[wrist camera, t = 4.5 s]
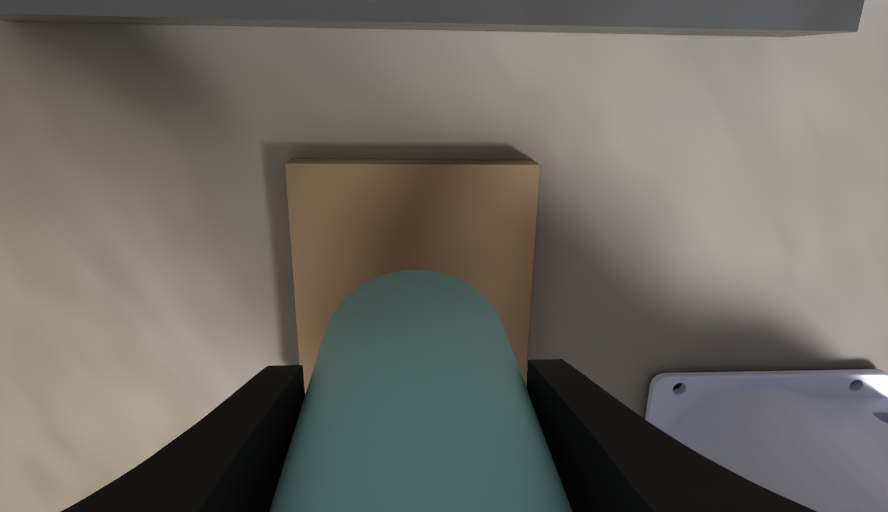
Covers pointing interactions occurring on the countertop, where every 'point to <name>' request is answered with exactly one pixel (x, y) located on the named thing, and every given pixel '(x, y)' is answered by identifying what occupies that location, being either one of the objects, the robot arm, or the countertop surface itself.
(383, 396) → the peg
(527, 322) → the brown square coaster
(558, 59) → the countertop surface
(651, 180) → the countertop surface
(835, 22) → the grey peg hole board
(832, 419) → the robot arm
